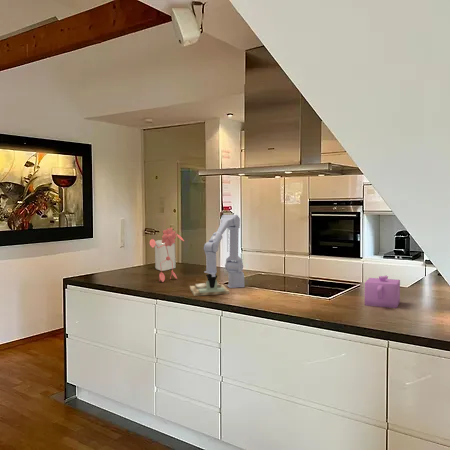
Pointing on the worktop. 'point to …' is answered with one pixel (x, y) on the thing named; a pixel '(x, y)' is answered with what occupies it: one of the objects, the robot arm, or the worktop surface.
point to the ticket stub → (211, 288)
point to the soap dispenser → (164, 256)
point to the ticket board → (202, 286)
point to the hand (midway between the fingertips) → (211, 287)
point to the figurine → (168, 240)
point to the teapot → (382, 292)
